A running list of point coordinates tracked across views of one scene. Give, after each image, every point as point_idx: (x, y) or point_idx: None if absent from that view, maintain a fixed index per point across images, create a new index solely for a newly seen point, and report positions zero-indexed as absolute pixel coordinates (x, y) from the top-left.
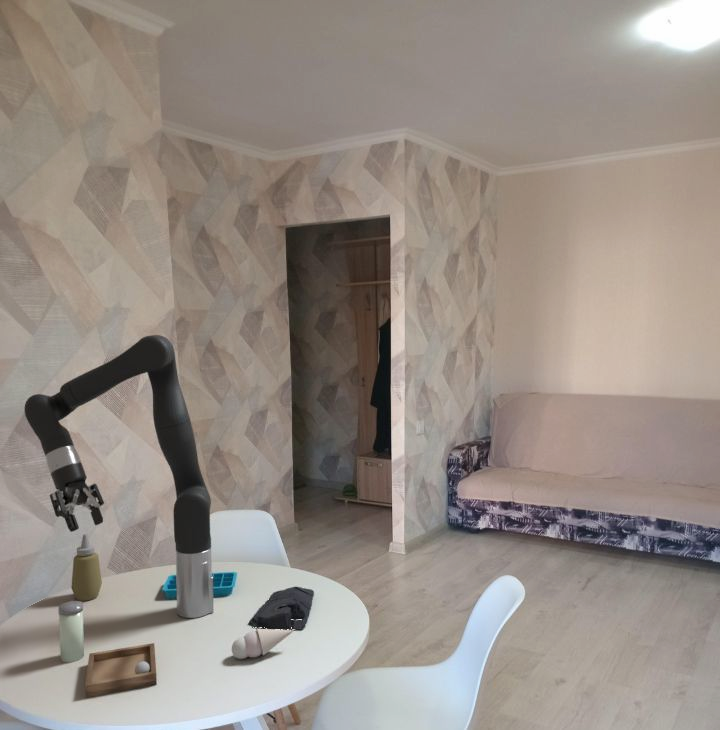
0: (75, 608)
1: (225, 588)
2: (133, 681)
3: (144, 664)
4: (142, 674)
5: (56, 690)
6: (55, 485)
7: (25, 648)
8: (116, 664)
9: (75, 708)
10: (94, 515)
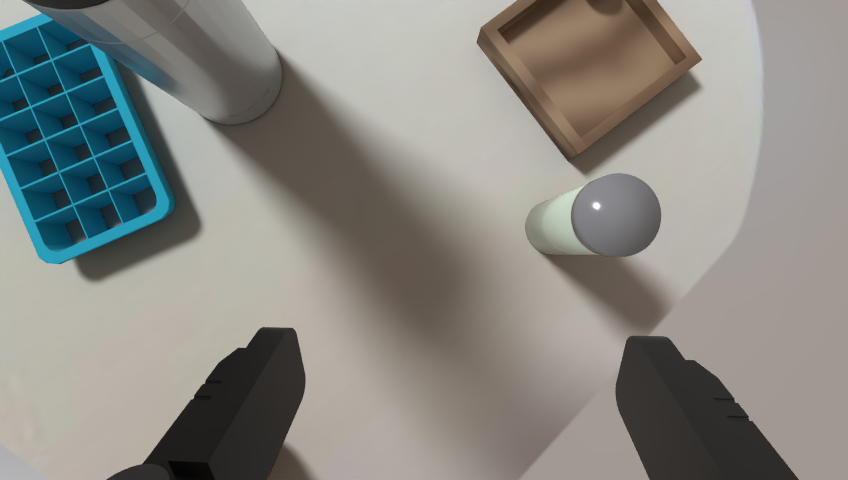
0: (633, 180)
1: None
2: None
3: None
4: None
5: (680, 154)
6: None
7: (553, 376)
8: (568, 80)
9: (720, 65)
10: (260, 448)
